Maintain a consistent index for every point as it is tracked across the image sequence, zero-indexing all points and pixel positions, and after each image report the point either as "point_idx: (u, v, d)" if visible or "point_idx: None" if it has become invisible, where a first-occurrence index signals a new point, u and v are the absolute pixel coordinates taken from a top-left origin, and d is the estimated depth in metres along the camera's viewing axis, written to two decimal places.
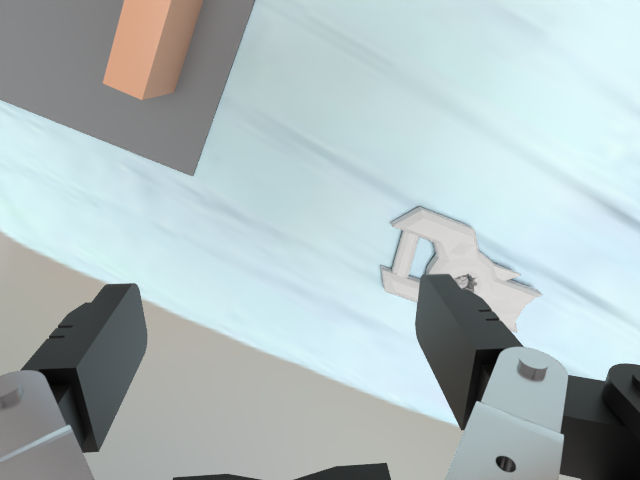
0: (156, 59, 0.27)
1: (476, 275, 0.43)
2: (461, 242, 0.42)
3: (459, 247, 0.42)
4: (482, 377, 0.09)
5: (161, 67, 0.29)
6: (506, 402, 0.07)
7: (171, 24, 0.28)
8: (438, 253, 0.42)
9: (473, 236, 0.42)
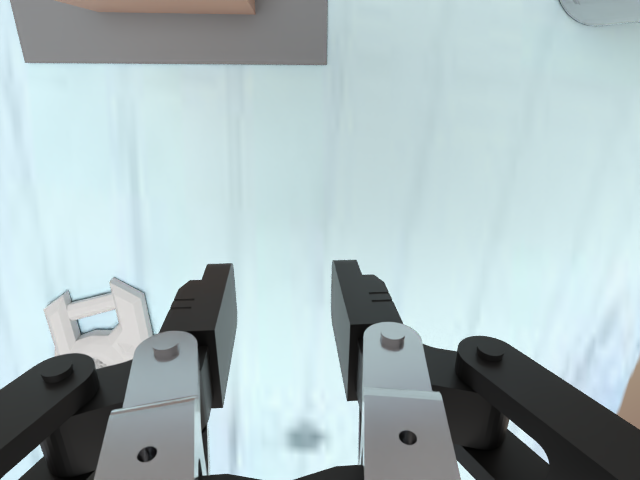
0: None
1: None
2: (132, 346, 0.43)
3: (127, 346, 0.42)
4: (358, 350, 0.10)
5: (92, 1, 0.27)
6: (383, 378, 0.08)
7: (135, 1, 0.26)
8: (112, 333, 0.42)
9: None
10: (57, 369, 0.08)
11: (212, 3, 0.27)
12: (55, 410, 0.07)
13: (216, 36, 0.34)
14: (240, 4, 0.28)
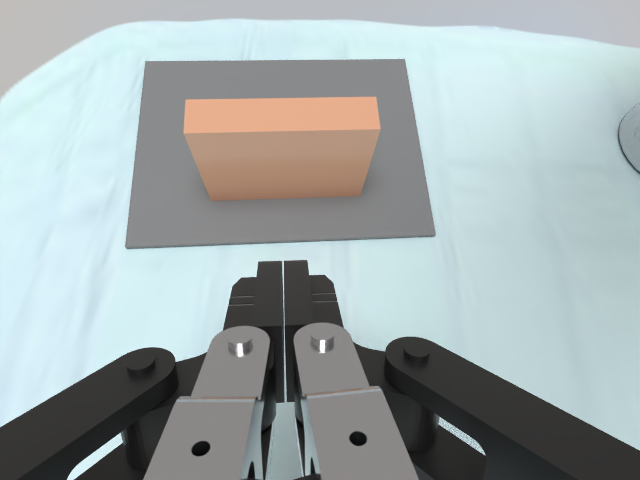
0: (230, 138, 0.26)
1: None
2: None
3: None
4: (293, 351, 0.10)
5: (226, 154, 0.28)
6: (320, 381, 0.08)
7: (269, 147, 0.27)
8: None
9: None
10: (141, 363, 0.08)
11: (339, 150, 0.28)
12: (145, 403, 0.07)
13: (322, 215, 0.34)
14: (364, 151, 0.29)
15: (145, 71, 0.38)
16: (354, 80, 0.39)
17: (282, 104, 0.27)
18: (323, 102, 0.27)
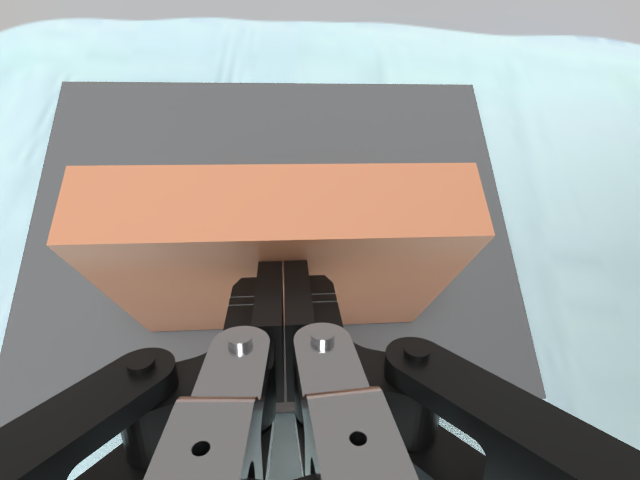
0: (160, 252, 0.12)
1: None
2: None
3: None
4: (293, 351, 0.10)
5: (158, 277, 0.13)
6: (320, 381, 0.08)
7: (248, 265, 0.13)
8: None
9: None
10: (140, 363, 0.08)
11: (394, 269, 0.14)
12: (145, 402, 0.07)
13: None
14: (445, 269, 0.14)
15: (60, 98, 0.24)
16: (396, 117, 0.25)
17: (278, 178, 0.12)
18: (367, 173, 0.13)
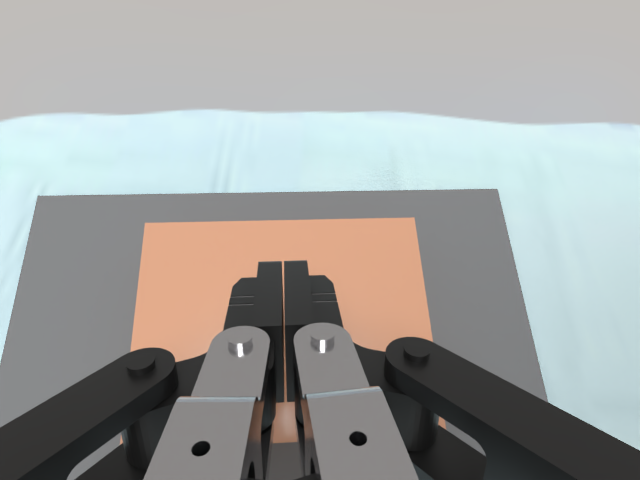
0: (206, 234, 0.18)
1: None
2: None
3: None
4: (293, 351, 0.10)
5: (192, 275, 0.18)
6: (320, 381, 0.08)
7: (260, 255, 0.18)
8: None
9: None
10: (140, 363, 0.08)
11: (368, 266, 0.18)
12: (145, 402, 0.07)
13: None
14: (408, 269, 0.18)
15: (35, 216, 0.21)
16: None
17: None
18: None
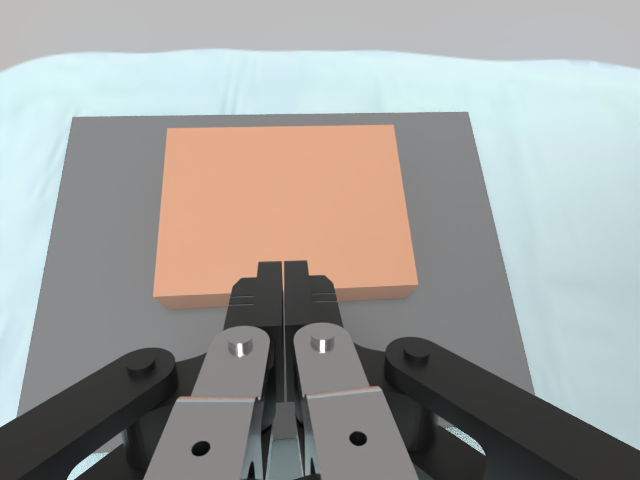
0: (219, 137, 0.22)
1: None
2: None
3: None
4: (293, 351, 0.10)
5: (207, 167, 0.21)
6: (320, 381, 0.08)
7: (264, 153, 0.22)
8: None
9: None
10: (140, 362, 0.08)
11: (354, 162, 0.22)
12: (145, 403, 0.07)
13: None
14: (388, 164, 0.22)
15: (71, 133, 0.25)
16: None
17: None
18: None
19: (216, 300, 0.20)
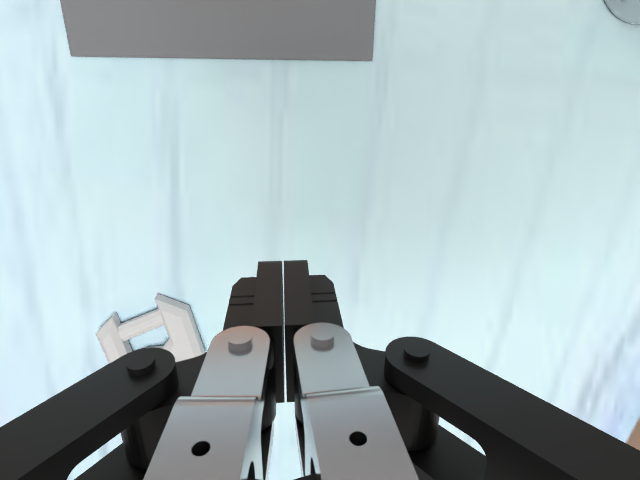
0: None
1: None
2: (185, 358, 0.43)
3: (180, 360, 0.43)
4: (293, 351, 0.10)
5: None
6: (320, 381, 0.08)
7: None
8: (163, 348, 0.43)
9: None
10: (140, 363, 0.08)
11: None
12: (145, 402, 0.07)
13: (263, 31, 0.34)
14: None
15: None
16: None
17: None
18: None
19: None
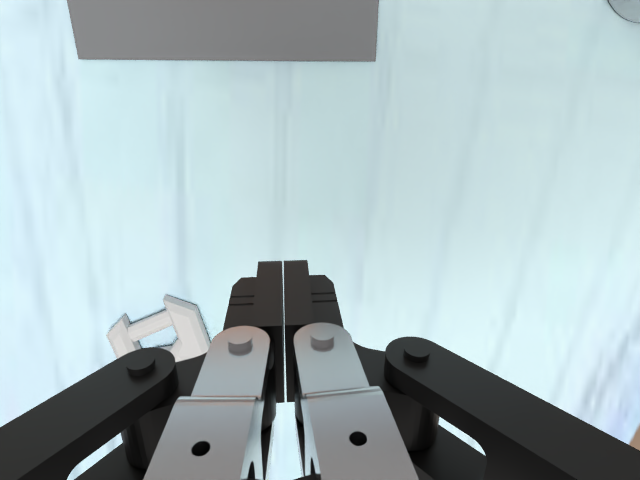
0: None
1: None
2: None
3: None
4: (293, 351, 0.10)
5: None
6: (320, 381, 0.08)
7: None
8: (172, 348, 0.44)
9: None
10: (140, 362, 0.08)
11: None
12: (145, 402, 0.07)
13: (267, 33, 0.34)
14: None
15: None
16: None
17: None
18: None
19: None
